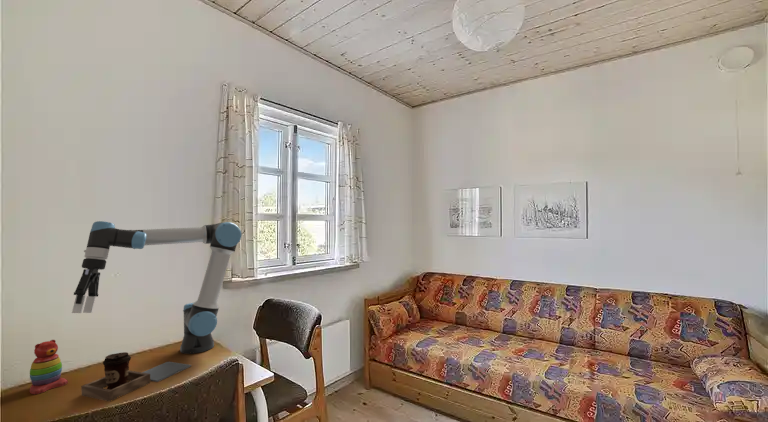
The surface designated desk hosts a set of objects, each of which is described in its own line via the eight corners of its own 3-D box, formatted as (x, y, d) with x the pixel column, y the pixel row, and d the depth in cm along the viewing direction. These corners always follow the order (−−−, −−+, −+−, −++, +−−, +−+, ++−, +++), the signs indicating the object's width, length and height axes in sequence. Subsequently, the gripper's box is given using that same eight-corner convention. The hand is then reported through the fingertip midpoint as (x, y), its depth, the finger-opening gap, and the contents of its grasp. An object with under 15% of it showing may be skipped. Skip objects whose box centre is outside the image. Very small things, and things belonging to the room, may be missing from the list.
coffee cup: (115, 395, 134) (115, 359, 135) (97, 393, 136) (96, 358, 136) (136, 384, 143) (135, 351, 143) (118, 383, 144) (117, 350, 145)
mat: (168, 362, 164) (168, 361, 164) (191, 366, 159) (191, 364, 159) (133, 377, 149) (133, 376, 149) (157, 382, 144) (157, 380, 144)
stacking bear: (34, 395, 136) (33, 348, 136) (22, 390, 141) (22, 344, 141) (69, 383, 146) (69, 339, 146) (57, 379, 150) (57, 335, 151)
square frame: (123, 377, 149) (123, 369, 149) (150, 382, 144) (150, 373, 144) (81, 395, 135) (81, 386, 135) (109, 401, 130) (109, 391, 130)
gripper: (92, 261, 157) (80, 312, 152) (73, 254, 136) (58, 312, 130) (113, 263, 160) (102, 312, 155) (98, 255, 139) (84, 313, 133)
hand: (82, 313), depth 142 cm, fingers open, 13 cm apart
